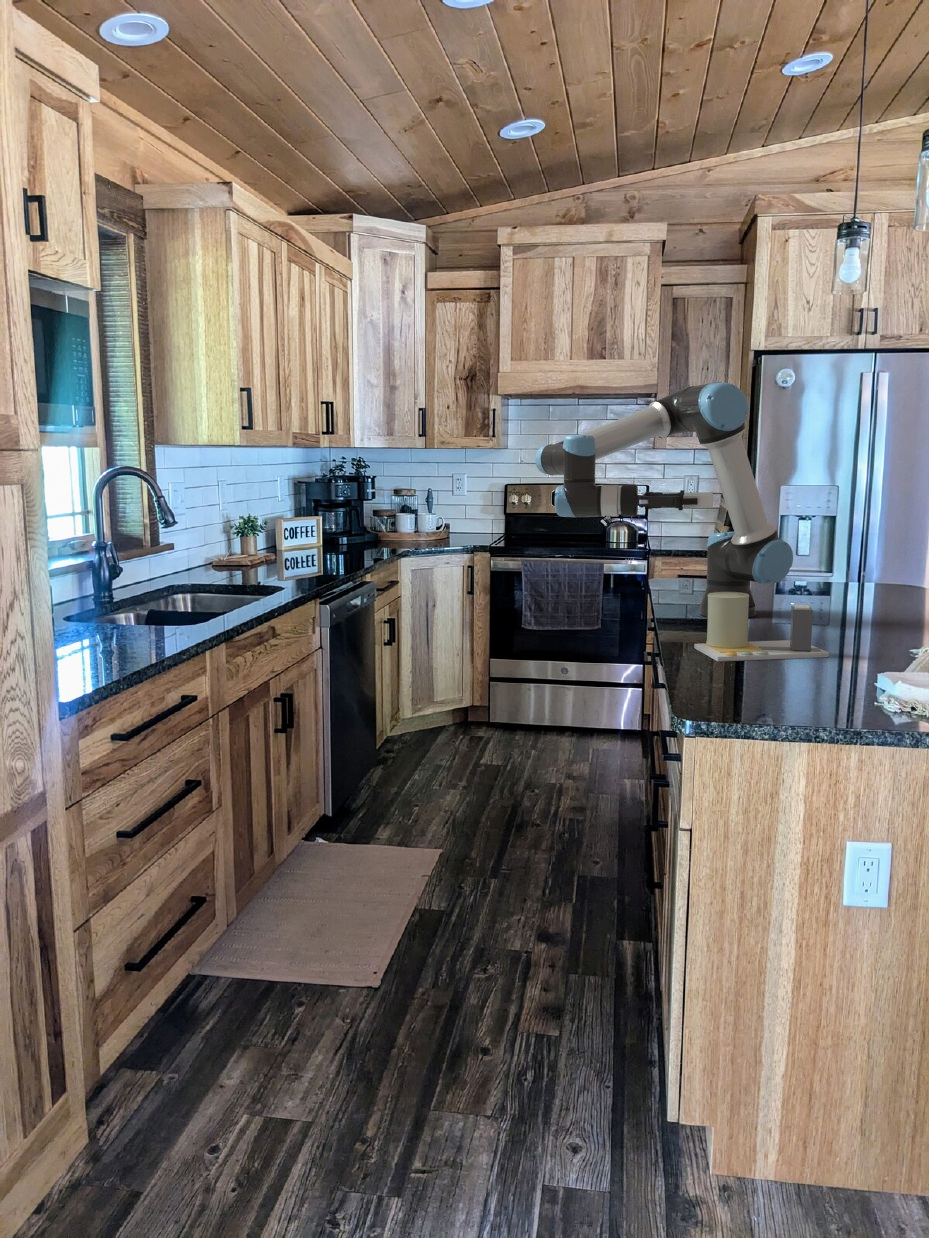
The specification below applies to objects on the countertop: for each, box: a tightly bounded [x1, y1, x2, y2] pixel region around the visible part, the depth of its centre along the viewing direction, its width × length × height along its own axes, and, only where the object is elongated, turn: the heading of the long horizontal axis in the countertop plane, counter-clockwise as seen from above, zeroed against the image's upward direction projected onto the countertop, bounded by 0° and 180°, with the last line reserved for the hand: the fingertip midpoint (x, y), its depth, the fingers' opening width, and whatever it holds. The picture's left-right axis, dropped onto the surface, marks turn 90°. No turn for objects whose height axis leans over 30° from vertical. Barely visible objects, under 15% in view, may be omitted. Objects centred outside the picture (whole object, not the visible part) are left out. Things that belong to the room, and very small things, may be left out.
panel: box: [694, 639, 830, 662], centre depth 213 cm, size 25×15×1 cm, turn 96°
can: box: [705, 592, 749, 648], centre depth 215 cm, size 9×9×12 cm
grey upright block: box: [789, 604, 814, 651], centre depth 209 cm, size 4×5×9 cm
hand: (712, 499), depth 220 cm, fingers open, 13 cm apart
